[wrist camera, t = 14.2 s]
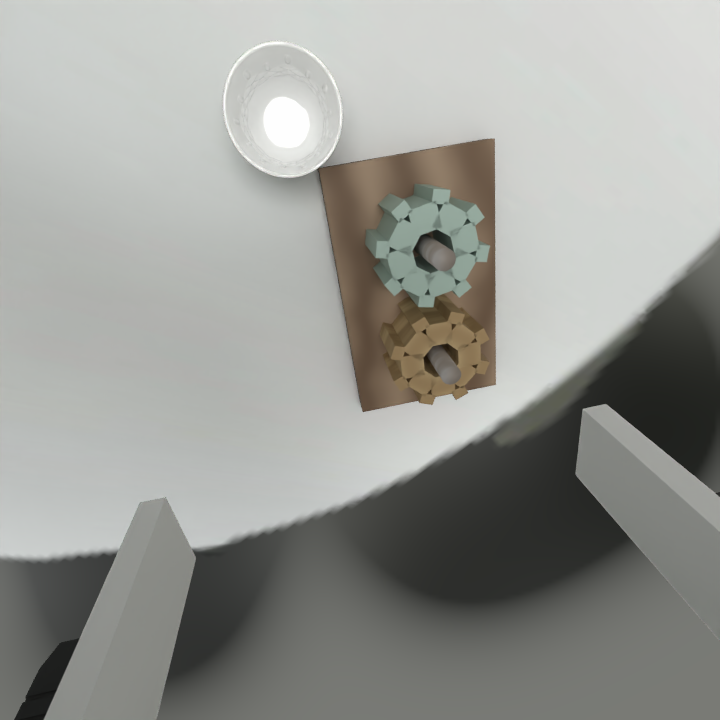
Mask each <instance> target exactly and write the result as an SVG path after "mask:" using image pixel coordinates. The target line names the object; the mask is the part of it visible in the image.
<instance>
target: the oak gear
mask: <svg viewBox="0 0 720 720" xmlns="http://www.w3.org/2000/svg"><path fill="white" fill-rule="evenodd" d="M398 306H399V307H400V309H401V313H400V314H399V315H398V316H397V318H396V319H395V320H394V322H393V323H392V324H389V323H384V322H383V324H382V328H381V331H380V337H381V339H382V341H383V343H384V345H385V347H386V350H387V352H386V353H385V354H383V357H384V360H385V362H386V364H387V367H388V369H389V371H390V374H391V376H392V378H393V381H394V382H395V384H396V385H397V387H398V388H399V390H400V391H403V390H404V389H406V388H408V387H411V388H412V389H413V391H414V393H415V395H416V397H417V399H418V401H419V403H424V404H431V405H433V402H434V399H435V397H436V396H441V395H445V394H450V393H452V394H453V396H454V398H455V399H456V400H457V399H458V398H460V397H462V396H464V395H465V394H467V393H468V392H467V390H466V388H465V385H466V384H467V382H468V381H469V380H470V379H471V378H472V377H473V376H474V375H475V373H478V374H484V375H485V372H486V370H487V367H488V365H489V363H490V362H489V361H488V360H487V359H486V357H485V356H484V355H483V354H482V353H481V347H480V345H481V344H483V343H484V342H486V341H488V340H489V338H488V336H487V334H486V332H485V330H484V328H483V327H482V326H481V325H480V324H479V323H478V322H477V321H476V320H475V319H474V318H473V317H471V316H470V315H469V314H468V313H467V312H466V311H465V310H464V309H463V308H462V307H461V308H458V307H457V306H456V305H455V304H454V303H453V302H452V301H451V300H450V299H449V298H448V297H447V296H445V295H444V294H442V295H439V296H436V297H435V300H434V306H433V307H418V306H417V305H416V304H415V303H414V302H413V301H412V300H411V298H410V297H407V298H406V299H404V300H402V301H401V302H399V303H398ZM436 345H442V347H443V348H444V349H445V351H446V352H447V353H448V355H449V356H450V357H451V359H452V360H453V361H454V363H455V364H456V365H457V367H458V368H459V369H460V371H461V378H460V379H459V381H458V382H456V383H455V384H451V385H449V384H446V383H444V382H443V381H442V379H441V377H440V376H439V374H438V373H437V371H436V370H435V368H434V366H433V365H432V363H431V362H430V360H429V359H428V357H427V356H426V354H427V353H428V351H429V350H430V349H431V348H432V347H433V346H436Z"/></svg>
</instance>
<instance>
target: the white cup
mask: <svg viewBox="0 0 720 720" xmlns="http://www.w3.org/2000/svg"><path fill="white" fill-rule="evenodd" d="M222 107H223V116H224V121H225V125H226V128H227V131H228V134H229V136H230V138H231V140H232V142H233V144H234V145H235V147H236V149H237V150H238V151H239V153H240V154H241V155H242V156H243V157H244V158H245V159H246V160H247V161H248V162H249V163H250V164H251V165H253V166H254V167H255V168H257V169H259V170H260V171H262V172H264V173H266V174H269V175H272V176H276V177H281V178H294V177H300V176H304V175H306V174H309V173H311V172H313V171H315V170H316V169H318V168H319V167H320V166H321V165H323V164H324V163H325V162H326V161H327V159H328V158H329V157H330V156H331V154H332V153H333V151H334V149H335V147H336V145H337V143H338V140H339V137H340V134H341V130H342V123H343V108H342V101H341V96H340V93H339V90H338V87H337V84H336V82H335V80H334V78H333V76H332V74H331V73H330V71H329V70H328V68H327V67H326V66H325V64H324V63H323V62H322V61H321V60H320V59H319V58H318V57H317V56H316V55H314V54H313V53H312V52H310V51H309V50H307V49H306V48H304V47H302V46H300V45H297V44H294V43H291V42H286V41H268V42H264V43H260V44H258V45H256V46H254V47H252V48H250V49H249V50H247V51H246V52H245V53H243V54H242V55H241V56H240V57H239V58H238V59H237V61H236V62H235V63H234V65H233V66H232V68H231V70H230V72H229V74H228V76H227V79H226V82H225V86H224V90H223V99H222Z"/></svg>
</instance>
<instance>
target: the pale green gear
mask: <svg viewBox="0 0 720 720" xmlns="http://www.w3.org/2000/svg"><path fill="white" fill-rule="evenodd" d="M450 191H451V190H449V189H445V188H441V187H437V186H433V185H427V184H415V185H414V194H413V195H412V196H410V197H407V198H404V199H401V198H399V197H397V196H395V195H392V194H390V193H389V194H388V195H387V196H386V197H385V198H384V199H383V200H382V201H381V202H380V203H379V204H378V205H379V206H380V207H381V208H382V210H383V211H384V214H383V217H382V219H381V221H380V223H379V225H378V227H377V229H366V239H365V245H366V246H367V247H368V249H369V250H370V251H371V253H372V254H373V255H374V257H375V258H380V262H379V263H378V264H377V265H376V266H374V267H373V269H374V270H375V272H376V273H377V275H378V276H379V278H380V279H381V281H382V282H383V284H384V285H385V286H386V288H387V289H388V290H389V291H390V292H391V293H392V294H393V295H394V296H395V295H396V294H398V293H399V292H400V291H401V290H402V289H404V290H405V291H406V292H407V293H408V295H409V296H410V297H411V299H412V300H413V301H414V302H415V304H416V305H417V306H418V307H433V306H434V300H435V297H436V296H439V295H442V294H444V293H447V292H450V291H452V292H453V293H454V294H455V295H457V296H458V297H459V298H460V297H461V296H462V295H463V294H464V293H466V292H467V291H468V290H469V289H470V288H472V287H471V286H470V285H469V283H468V282H467V281H466V278H467V277H468V275H469V273H470V271H471V270H472V268H473V266H474V265H475V263H476V262H487V258H488V253H489V248H490V245H487V244H485V243H483V242H481V241H479V240H478V237H477V232H476V227H475V225H477V224H478V223H479V222H480V221H481V220H482V219H483V218H485V217H484V216H483V214H482V213H481V211H480V210H479V208H478V207H477V205H476V204H474V203H470V202H467V201H463V200H460V199H456V198H453V197H451V198H450V199H449V197H450ZM431 231H432V234H433V238H434V239H435V240H437V241H438V242H440V243H441V244H443V245H444V246H446V247H448V248H449V249H451V250H452V251H453V252H454V253H455V256H456V261H455V264H454V266H453V267H452V268H451V269H450V270H448V271H439V270H437V269H436V268H435V267H434V266H433V265H431V264H430V263H429V262H428V261H427V260H425V259H424V258H423V257H422V256H421V255H420V256H417V257H414V255H413V252H412V251H413V249H414V247H415V245H416V243H417V241H418V239H419V237H420V235H423V234H425V233H428V232H431Z"/></svg>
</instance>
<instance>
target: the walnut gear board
mask: <svg viewBox="0 0 720 720" xmlns="http://www.w3.org/2000/svg"><path fill="white" fill-rule="evenodd" d="M318 170H319V176H320V181H321V187H322V192H323V198H324V203H325V209H326V214H327V220H328V225H329V231H330V237H331V242H332V248H333V253H334V259H335V264H336V270H337V275H338V281H339V286H340V292H341V298H342V303H343V309H344V314H345V320H346V325H347V331H348V336H349V342H350V347H351V353H352V359H353V364H354V370H355V375H356V381H357V386H358V392H359V397H360V403H361V407H362V411H363V412H365V411H370V410H375V409H380V408H385V407H390V406H395V405H399V404H404V403H409V402H414V401H418V399H417V397H416V395H415V393H414V391H413V389H412V388H411V387H408V388H406V389H404V390H403V391H400V390H399V388H398V387H397V385H396V384H395V382H394V381H393V378H392V376H391V374H390V371H389V369H388V367H387V364H386V362H385V360H384V357H383V354H385V353H386V352H387V350H386V347H385V345H384V343H383V341H382V339H381V337H380V331H381V328H382V324H383V322H384V323H389V324H392V323H393V322H394V320H395V319H396V318H397V316H398V315H399V314H400V313H401V309H400V307H399V306H398V303H399V302H401V301H402V300H404V299H406V298H407V297H410V296H409V295H408V293H407V292H406V291H405V290H404V289H402V290H401V291H400V292H399V293H398V294H396V295H395V296H394V295H393V294H392V293H391V292H390V291H389V290H388V289H387V288H386V286H385V285H384V284H383V282H382V281H381V279H380V278H379V276H378V275H377V273H376V272H375V270H374V269H373V267H374V266H376V265H377V264H378V263H379V262H380V258H375V257H374V255H373V254H372V253H371V251H370V250H369V249H368V247H367V246H366V245H365V239H366V229H377V227H378V225H379V223H380V221H381V219H382V217H383V214H384V211H383V210H382V208H381V207H380V206H379V205H378V204H379V203H380V202H381V201H382V200H383V199H384V198H385V197H386V196H387V195H388V194H389V193H390V194H392V195H395V196H397V197H399V198H401V199H404V198H407V197H410V196H412V195H413V194H414V185H415V184H427V185H433V186H437V187H441V188H445V189H449V190H451V191H450V197H449V199H450V198H451V197H453V198H456V199H460V200H463V201H467V202H470V203H474V204H476V205H477V207H478V208H479V210H480V211H481V213H482V214H483V216H484V217H485V218H483V219H482V220H481V221H480V222H479V223H478V224H477V225H475V227H476V232H477V237H478V240H479V241H481V242H483V243H485V244H487V245H490V248H489V253H488V258H487V262H476V263H475V265H474V266H473V268H472V270H471V271H470V273H469V275H468V277H467V278H466V281H467V282H468V283H469V285H470V286H471V287H472V288H470V289H469V290H468V291H467V292H466V293H464V294H463V295H462V296H461V297H460V298H459V297H458V296H457V295H455V294H454V293H453V292H452V291H450V292H447V293H444V295H445V296H447V297H448V298H449V299H450V300H451V301H452V302H453V303H454V304H455V305H456V306H457V307H458V308H461V307H462V308H463V309H464V310H465V311H466V312H467V313H468V314H469V315H470V316H471V317H473V318H474V319H475V320H476V321H477V322H478V323H479V324H480V325H481V326H482V327H483V328H484V330H485V332H486V334H487V336H488V338H489V340H488V341H486V342H484V343H483V344H481V345H480V347H481V353H482V354H483V355H484V356H485V357H486V359H487V360H488V361H489V362H490V363H489V365H488V367H487V370H486V372H485V375H484V374H478V373H475V375H474V376H473V377H472V378H471V379H470V380H469V381H468V382H467V384H466V385H465V388H466V390H472V389H477V388H482V387H487V386H492V385H496V347H495V139H483V140H478V141H472V142H466V143H460V144H455V145H449V146H443V147H438V148H432V149H426V150H420V151H415V152H409V153H403V154H397V155H392V156H386V157H380V158H374V159H369V160H363V161H357V162H351V163H346V164H340V165H334V166H328V167H323V168H318ZM412 252H413V255H414V257H417V256H420V255H421V256H422V257H423V258H424V259H425V260H427V261H428V262H429V263H430V264H431V265H433V266H434V267H435V268H436V269H437V270H439V271H448V270H450V269H451V268H452V267H453V266H454V264H455V261H456V256H455V253H454V252H453V251H452V250H451V249H449V248H448V247H446V246H444V245H443V244H441V243H440V242H438V241H437V240H435V239H434V238H433V234H432V231H431V232H428V233H425V234H423V235H420V237H419V239H418V241H417V243H416V245H415V247H414V249H413V251H412ZM410 298H411V297H410ZM411 300H412V299H411ZM412 301H413V300H412ZM413 302H414V301H413ZM414 303H415V302H414ZM426 356H427V357H428V359H429V360H430V362H431V363H432V365H433V366H434V368H435V370H436V371H437V373H438V374H439V376H440V377H441V379H442V381H443V382H444V383H446V384H449V385H451V384H455V383H456V382H458V381H459V379H460V378H461V371H460V369H459V368H458V367H457V365H456V364H455V363H454V361H453V360H452V359H451V357H450V356H449V355H448V353H447V352H446V351H445V349H444V348H443V347H442V345H436V346H433V347H432V348H431V349H430V350H429V351H428V353H427V354H426ZM450 394H452V393H450ZM445 395H448V394H445ZM441 396H443V395H441ZM436 397H438V396H436Z"/></svg>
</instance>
